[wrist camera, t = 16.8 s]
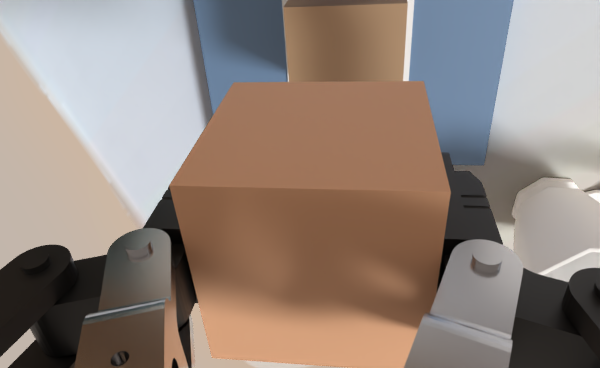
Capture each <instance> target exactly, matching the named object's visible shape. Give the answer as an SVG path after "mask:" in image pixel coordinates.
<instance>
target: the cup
mask: <svg viewBox="0 0 600 368" xmlns="http://www.w3.org/2000/svg"><path fill="white" fill-rule="evenodd" d="M599 202H600V190H592V191H587V192H584V191H582V190H581V189H579V187H578V186H577V185H576V184H575V183H574V181H573V180H572V179H562V178H546V177H543V178H541V179H539V180H537V181H536V182H534V183H532V184H531V185H529V186H527V187H525V188H524V189H522V190H520V191H519V192H518V193H517V196H516V199H515V203H514V206H513V209H512V213H511V214H512V216H513V218H514V219H515V220H516V221H515V224H514V252H515V253H516V254H517V255H518V257H519V258H520V260H521V262H522V264H523V268H525V269H527V270H529V271H532V272H534V273H537V274H540V275H543V276H547V277H551V278H554V279H558V280H562V281H566V282H569V280H570V278H571V276H572V275H573V274H574V273H575V272H577V271H579V270H582V269H586V268H600V203H599Z"/></svg>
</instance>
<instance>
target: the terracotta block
mask: <svg viewBox="0 0 600 368" xmlns="http://www.w3.org/2000/svg"><path fill="white" fill-rule="evenodd" d="M169 187H170V191H171V195H172V199H173V203H174V207H175V211H176V215H177V219H178V223H179V227H180V231H181V235H182V239H183V243H184V247H185V251H186V255H187V259H188V263H189V267H190V271H191V275H192V279H193V283H194V287H195V291H196V295H197V299H198V303H199V307H200V311H201V315H202V319H203V323H204V327H205V331H206V335H207V339H208V343H209V347H210V352H211V355H212V358H221V359H235V360H249V361H263V362H277V363H291V364H305V365H319V366H334V367H347V368H404V366H405V363H406V360H407V358H408V355H409V352H410V350H411V347H412V344H413V342H414V339H415V336H416V334H417V331H418V328H419V326H420V323H421V321H422V318H423V316H424V314H425V313H426V312H427V313H430V311H431V308H432V305H433V303H434V300H435V297H436V292H437V285H438V278H439V271H440V264H441V257H442V250H443V243H444V236H445V229H446V222H447V215H448V208H449V201H450V194H451V191H450V186H449V182H448V178H447V174H446V170H445V166H444V162H443V158H442V154H441V150H440V146H439V141H438V137H437V133H436V129H435V125H434V121H433V117H432V113H431V109H430V105H429V101H428V97H427V92H426V88H425V84H424V81H356V82H233V84H232V86H231V87H230V89H229V90H228V92H227V94H226V95H225V97H224V99H223V100H222V102H221V103H220V105H219V107H218V108H217V110H216V111H215V113H214V115H213V116H212V118H211V119H210V121H209V123H208V124H207V126H206V127H205V129H204V131H203V132H202V134H201V135H200V137H199V139H198V140H197V142H196V143H195V145H194V147H193V148H192V150H191V151H190V153H189V155H188V156H187V158H186V159H185V161H184V163H183V164H182V166H181V168H180V169H179V171H178V172H177V174H176V176H175V177H174V179H173V180H172V182H171V184H170V185H169Z"/></svg>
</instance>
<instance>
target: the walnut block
mask: <svg viewBox="0 0 600 368" xmlns="http://www.w3.org/2000/svg"><path fill="white" fill-rule="evenodd" d="M407 8H408V2H407V0H288V1H287V2H286V4H285V5H284V7H283V10H284V23H285V36H286V49H287V62H288V75H289V82H356V81H403V73H404V57H405V41H406V24H407Z"/></svg>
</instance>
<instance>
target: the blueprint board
mask: <svg viewBox="0 0 600 368" xmlns="http://www.w3.org/2000/svg"><path fill="white" fill-rule="evenodd" d="M287 1H288V0H193V2H194V7H195V13H196V19H197V25H198V30H199V36H200V42H201V48H202V54H203V59H204V65H205V71H206V77H207V82H208V88H209V94H210V100H211V106H212V111H213V115H214V113H215V111H216V110H217V108H218V107H219V105H220V103H221V102H222V100H223V99H224V97H225V95H226V94H227V92H228V90H229V89H230V87H231V86H232V84H233V82H289V75H288V62H287V49H286V36H285V23H284V10H283V7H284V5H285V4H286V2H287ZM513 1H514V0H407V2H408V8H407V24H406V41H405V57H404V73H403V81H424V84H425V88H426V92H427V97H428V101H429V105H430V109H431V113H432V117H433V121H434V125H435V129H436V133H437V137H438V141H439V146H440V150H441V152H448V153H449V154H450V158H451V161H452V165H484V162H485V156H486V151H487V145H488V140H489V134H490V129H491V123H492V117H493V112H494V106H495V101H496V95H497V90H498V84H499V79H500V73H501V68H502V62H503V56H504V51H505V45H506V40H507V34H508V29H509V23H510V18H511V12H512V6H513Z"/></svg>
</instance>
